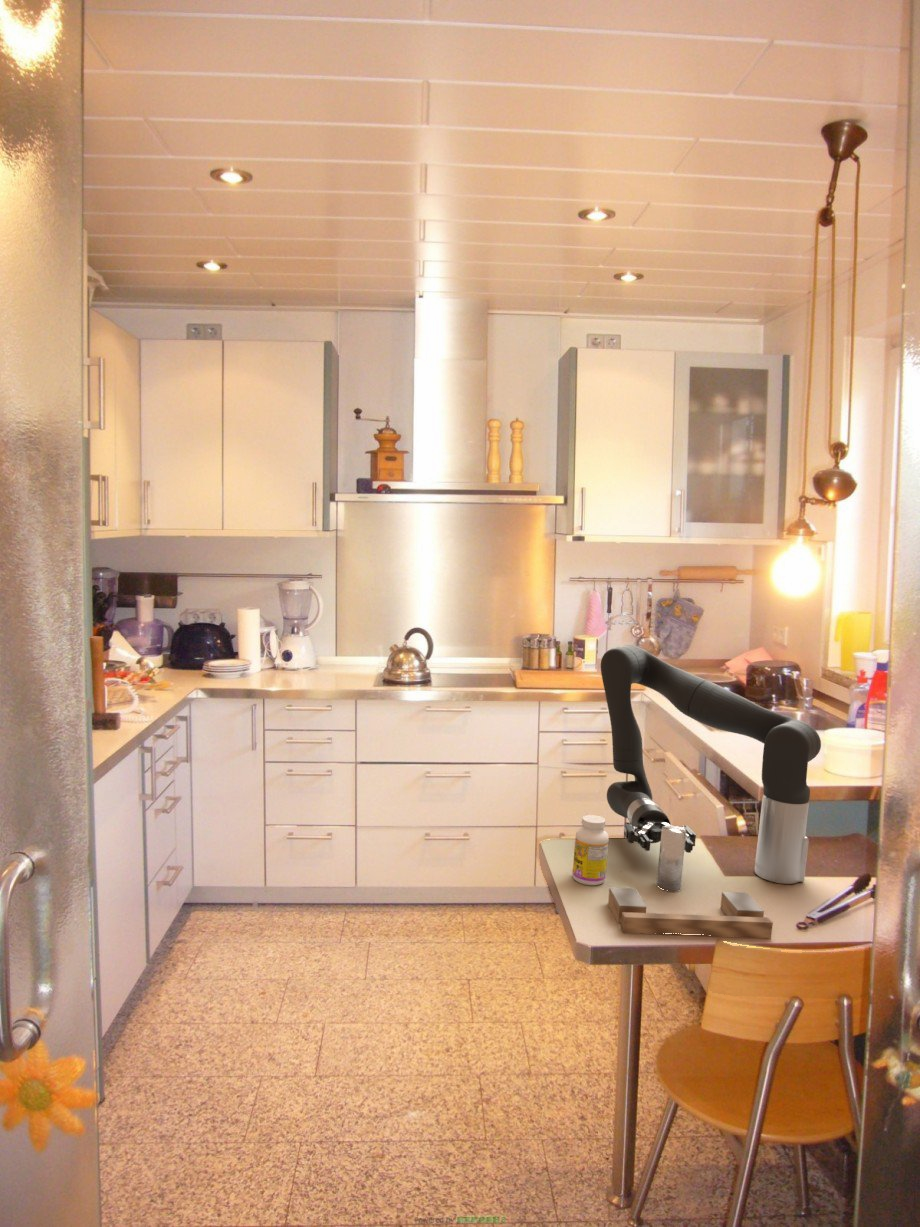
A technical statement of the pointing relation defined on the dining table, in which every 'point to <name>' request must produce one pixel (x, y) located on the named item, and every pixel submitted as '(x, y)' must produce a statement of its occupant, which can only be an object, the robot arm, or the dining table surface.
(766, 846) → the robot arm
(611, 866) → the dining table surface
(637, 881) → the dining table surface
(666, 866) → the link pin
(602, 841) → the supplement bottle
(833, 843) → the dining table surface
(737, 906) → the rail with metal-top blocks
